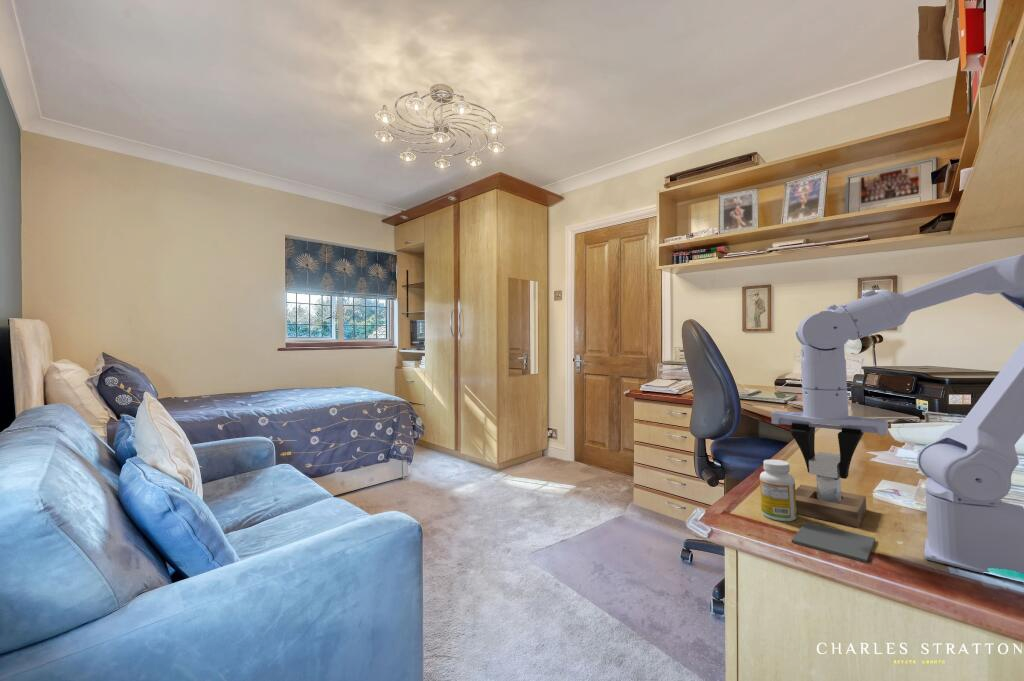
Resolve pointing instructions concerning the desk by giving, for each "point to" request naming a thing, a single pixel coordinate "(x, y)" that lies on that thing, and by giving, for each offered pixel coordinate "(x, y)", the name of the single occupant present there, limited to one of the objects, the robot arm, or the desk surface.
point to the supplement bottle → (778, 491)
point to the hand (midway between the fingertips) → (827, 474)
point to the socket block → (830, 506)
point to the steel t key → (827, 476)
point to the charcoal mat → (835, 541)
